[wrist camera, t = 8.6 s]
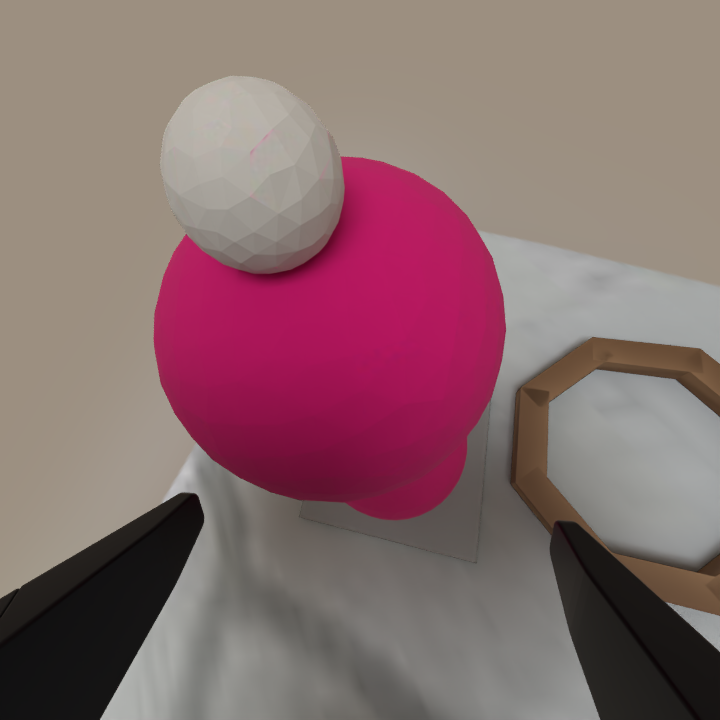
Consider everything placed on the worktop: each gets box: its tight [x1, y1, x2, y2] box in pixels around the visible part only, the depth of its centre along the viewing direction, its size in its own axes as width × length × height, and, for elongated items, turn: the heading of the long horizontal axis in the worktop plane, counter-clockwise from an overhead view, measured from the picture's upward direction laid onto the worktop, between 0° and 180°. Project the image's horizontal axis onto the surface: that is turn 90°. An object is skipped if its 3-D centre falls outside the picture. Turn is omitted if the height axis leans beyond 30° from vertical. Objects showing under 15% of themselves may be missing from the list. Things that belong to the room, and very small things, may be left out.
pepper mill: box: [154, 76, 506, 520], centre depth 12 cm, size 7×7×20 cm
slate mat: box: [299, 399, 491, 563], centre depth 21 cm, size 10×10×1 cm
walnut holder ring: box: [511, 337, 720, 616], centre depth 19 cm, size 13×13×1 cm
